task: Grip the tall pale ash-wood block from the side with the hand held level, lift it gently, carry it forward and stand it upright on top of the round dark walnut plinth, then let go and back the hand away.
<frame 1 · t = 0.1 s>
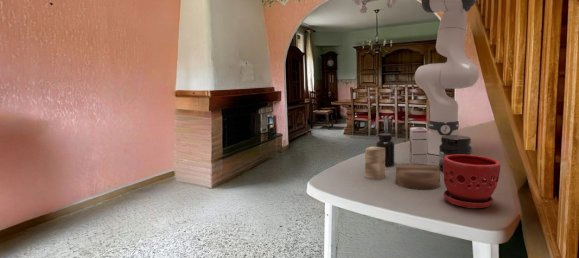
hand: (375, 9, 104), 54 cm above the table, tool tilted 30°, fingers open, 8 cm apart
supplement bottle: (385, 165, 132), on the table
plant pot: (468, 203, 90), on the table
supplement container: (454, 170, 122), on the table
walnut plinth: (417, 183, 108), on the table
syrup box: (418, 166, 129), on the table
ash block: (375, 176, 116), on the table
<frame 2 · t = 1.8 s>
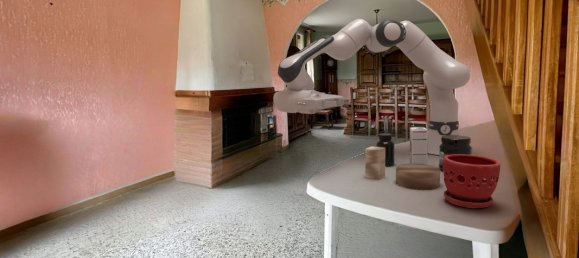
hand: (343, 102, 120), 25 cm above the table, tool horizontal, fingers open, 8 cm apart
nothing on the table moved.
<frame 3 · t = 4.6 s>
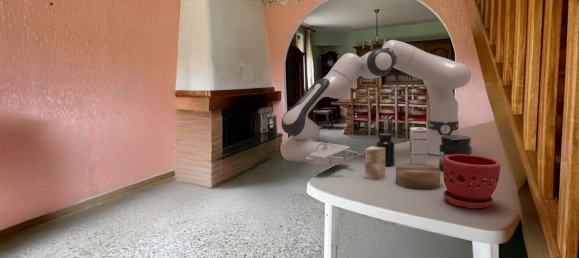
hand: (350, 157, 121), 6 cm above the table, tool horizontal, fingers open, 8 cm apart
nothing on the table moved.
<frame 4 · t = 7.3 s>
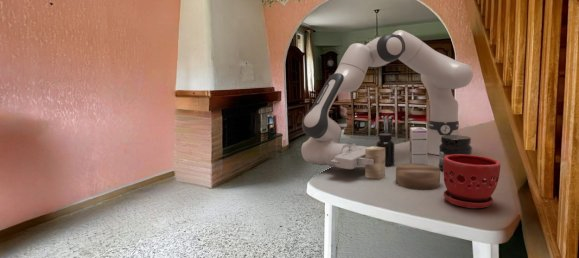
hand: (377, 159, 115), 6 cm above the table, tool horizontal, fingers closed on ash block, 5 cm apart
ash block: (375, 176, 116), on the table, touching gripper
everything else where it was.
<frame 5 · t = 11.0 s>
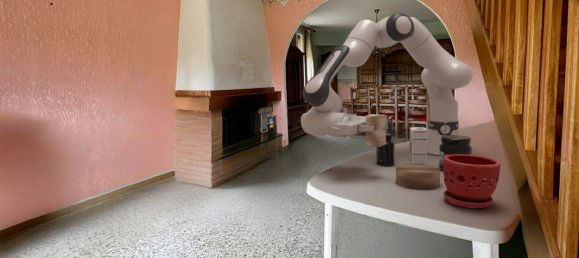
hand: (378, 127, 113), 17 cm above the table, tool horizontal, fingers closed on ash block, 5 cm apart
ash block: (375, 144, 115), point 11 cm above the table, touching gripper
everything else where it was.
when the fingers open (12 cm above the table, at t = 14.7 s): ash block drops 2 cm, resting on walnut plinth.
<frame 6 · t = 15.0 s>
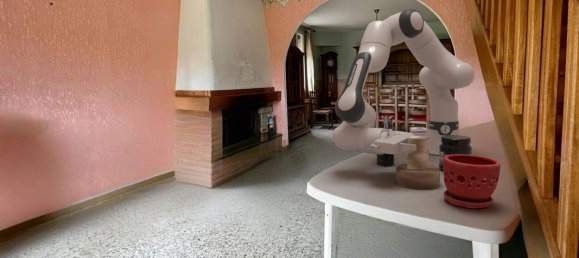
hand: (421, 144, 106), 12 cm above the table, tool horizontal, fingers open, 8 cm apart
walnut plinth: (417, 183, 108), on the table, touching ash block
ash block: (417, 168, 107), point 5 cm above the table, touching walnut plinth
everything else where it was.
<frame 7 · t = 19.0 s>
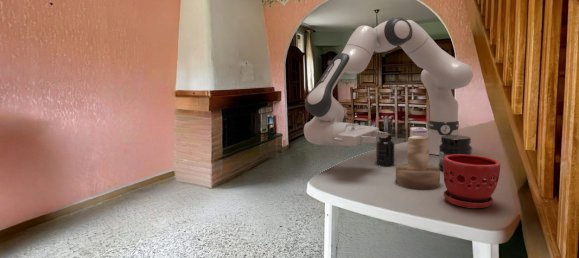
hand: (381, 137, 113), 14 cm above the table, tool horizontal, fingers open, 8 cm apart
nothing on the table moved.
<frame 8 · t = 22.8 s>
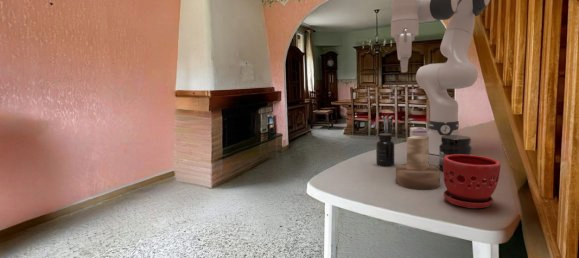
hand: (403, 72, 116), 35 cm above the table, tool pointing down, fingers open, 8 cm apart
nothing on the table moved.
at the end: ash block inside the target area on the walnut plinth (0.1 cm from its centre), point 5.0 cm above the walnut plinth's base; ash block tilted 0°; the gripper is holding nothing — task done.
